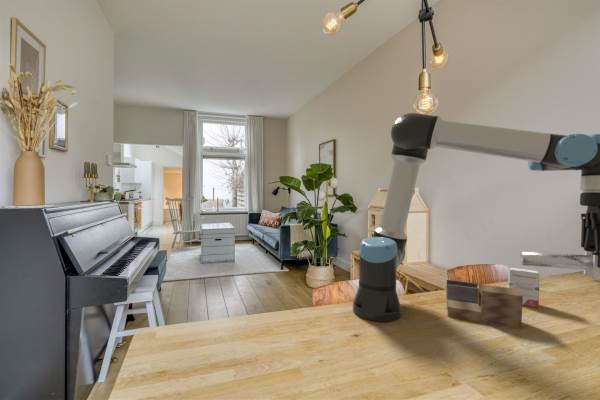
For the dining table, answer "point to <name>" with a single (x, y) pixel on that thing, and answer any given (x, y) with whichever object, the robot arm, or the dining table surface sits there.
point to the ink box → (525, 285)
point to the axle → (557, 260)
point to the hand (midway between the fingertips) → (594, 276)
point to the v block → (462, 291)
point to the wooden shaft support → (491, 306)
